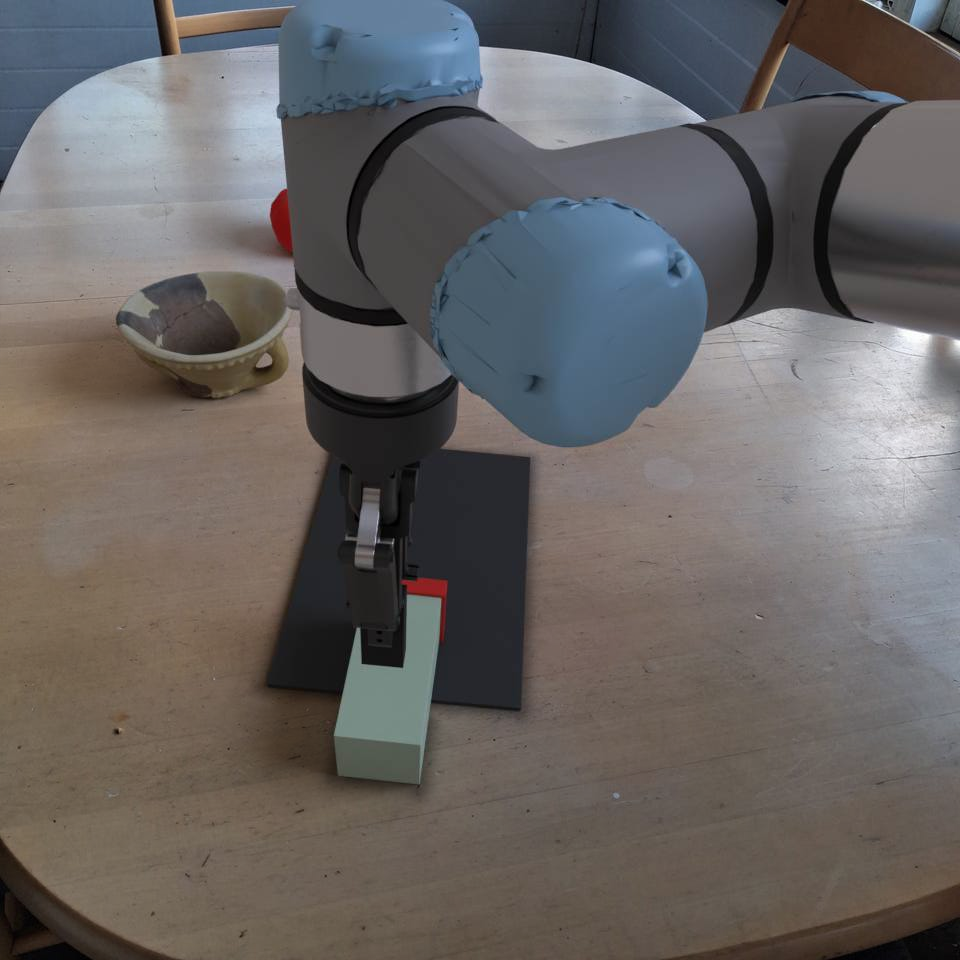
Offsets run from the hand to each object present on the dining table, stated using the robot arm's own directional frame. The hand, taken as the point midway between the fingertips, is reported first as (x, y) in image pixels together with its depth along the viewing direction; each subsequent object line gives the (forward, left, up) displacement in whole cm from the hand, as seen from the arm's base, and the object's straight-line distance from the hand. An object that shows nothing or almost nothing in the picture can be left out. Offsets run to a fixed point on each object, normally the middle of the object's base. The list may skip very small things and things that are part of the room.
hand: (383, 656), depth 59 cm
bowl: (+49, +7, -13) cm, 51 cm away
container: (-2, +1, -9) cm, 10 cm away
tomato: (+76, -8, -13) cm, 78 cm away
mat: (+19, -7, -12) cm, 24 cm away
